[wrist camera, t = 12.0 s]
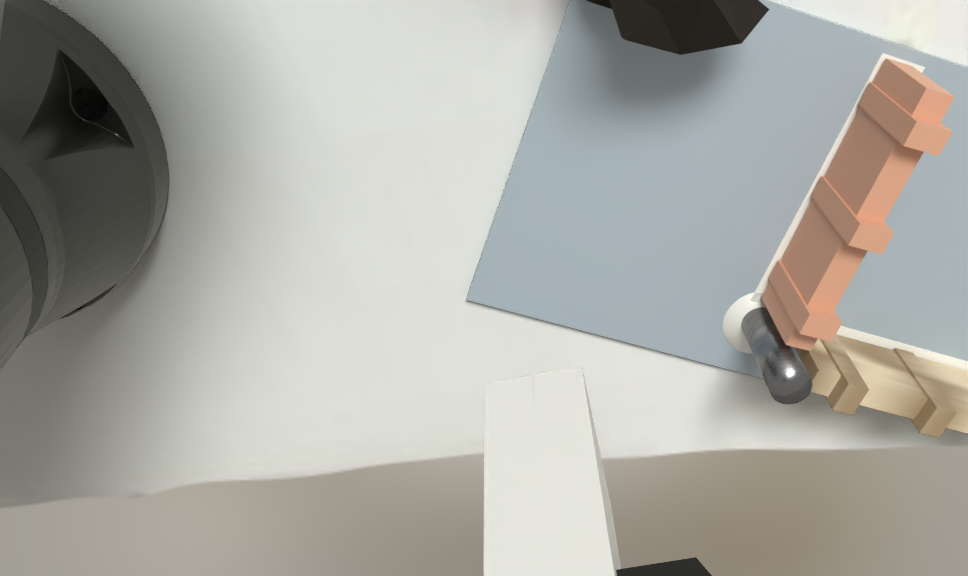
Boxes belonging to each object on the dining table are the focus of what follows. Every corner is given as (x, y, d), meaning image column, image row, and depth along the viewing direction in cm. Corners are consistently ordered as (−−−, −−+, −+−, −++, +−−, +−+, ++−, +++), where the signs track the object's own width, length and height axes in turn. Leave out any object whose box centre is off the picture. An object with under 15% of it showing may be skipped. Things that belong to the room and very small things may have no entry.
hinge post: (733, 329, 44) (763, 398, 40) (749, 299, 44) (782, 366, 39) (766, 338, 45) (800, 408, 40) (783, 309, 44) (820, 376, 39)
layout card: (466, 296, 44) (466, 300, 43) (590, -59, 35) (591, -58, 35) (974, 431, 48) (977, 436, 47) (1190, 141, 39) (1195, 144, 39)
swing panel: (787, 304, 43) (819, 362, 39) (758, 297, 43) (787, 354, 39) (914, 66, 37) (968, 105, 33) (882, 57, 37) (932, 93, 33)
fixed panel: (780, 344, 44) (810, 404, 40) (793, 319, 44) (826, 378, 39) (992, 402, 46) (1043, 465, 42) (1009, 379, 45) (1062, 441, 41)
